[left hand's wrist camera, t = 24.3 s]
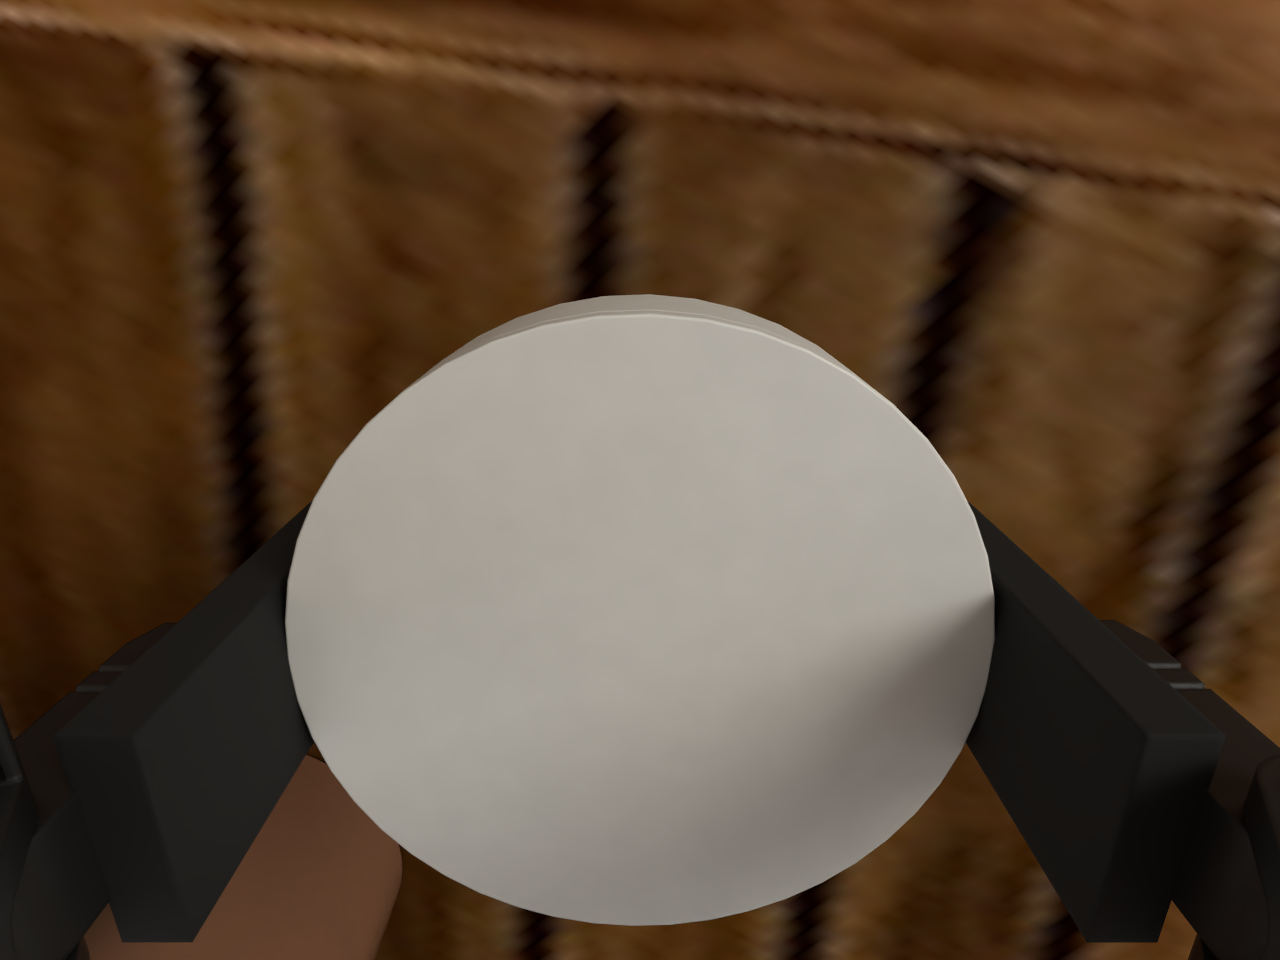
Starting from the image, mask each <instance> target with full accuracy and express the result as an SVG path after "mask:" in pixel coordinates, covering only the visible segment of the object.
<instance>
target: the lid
mask: <svg viewBox="0 0 1280 960" xmlns="http://www.w3.org/2000/svg"><path fill="white" fill-rule="evenodd" d="M285 631H286V643H287V655H288V661H289V666H290V671H291V676H292V681H293V685H294V689H295V693H296V697H297V701H298V704H299V706H300V709H301V711H302V714H303V716H304V719H305V721H306V724H307V726H308V729H309V731H310V734H311V736H312V738H313V740H314V742H315V744H316V745H317V747H318V749H319V751H320V752H321V754H322V756H323V758H324V760H325V761H326V763H327V765H328V767H329V768H330V770H331V772H332V773H333V774H334V776H335V777H336V778H337V780H338V781H339V782H340V784H341V785H342V786H343V788H344V789H345V790H346V792H347V793H348V794H349V795H350V797H351V798H352V799H353V801H354V802H355V803H356V804H357V805H358V806H359V807H360V808H361V809H362V810H363V811H364V812H365V813H366V814H367V815H368V816H369V817H370V819H371V820H372V821H373V822H374V823H375V824H376V825H377V826H378V827H379V828H380V829H381V830H382V831H384V832H385V833H386V834H387V835H388V836H390V837H391V838H392V839H393V840H395V841H396V842H397V843H398V844H400V845H401V846H402V847H403V848H404V849H406V850H407V851H408V852H409V853H411V854H412V855H414V856H415V857H417V858H418V859H420V860H421V861H423V862H424V863H426V864H428V865H429V866H431V867H432V868H434V869H435V870H437V871H438V872H440V873H442V874H443V875H445V876H447V877H449V878H451V879H453V880H455V881H457V882H459V883H461V884H463V885H465V886H467V887H469V888H471V889H473V890H475V891H477V892H479V893H481V894H484V895H487V896H489V897H492V898H495V899H497V900H500V901H503V902H505V903H508V904H511V905H513V906H516V907H520V908H523V909H527V910H531V911H535V912H538V913H542V914H546V915H550V916H553V917H559V918H565V919H571V920H577V921H583V922H589V923H599V924H614V925H629V926H638V925H672V924H680V923H688V922H696V921H704V920H711V919H716V918H720V917H725V916H729V915H733V914H738V913H742V912H747V911H750V910H754V909H757V908H760V907H763V906H766V905H769V904H772V903H775V902H778V901H781V900H784V899H787V898H789V897H791V896H793V895H795V894H798V893H800V892H802V891H804V890H807V889H809V888H811V887H813V886H816V885H818V884H820V883H822V882H824V881H826V880H827V879H829V878H831V877H832V876H834V875H836V874H838V873H839V872H841V871H843V870H844V869H846V868H848V867H850V866H851V865H853V864H855V863H856V862H858V861H859V860H860V859H862V858H863V857H864V856H866V855H867V854H868V853H870V852H871V851H873V850H874V849H875V848H877V847H878V846H879V845H881V844H882V843H883V842H885V841H886V840H887V839H888V838H889V837H891V836H892V835H893V834H894V833H895V832H896V831H897V830H898V829H899V828H900V827H901V826H902V825H903V824H904V823H906V822H907V821H908V820H909V819H910V818H911V817H912V816H913V815H914V814H915V813H916V812H917V811H918V810H919V808H920V807H921V806H922V805H923V804H924V802H925V801H926V800H927V799H928V798H929V796H930V795H931V794H932V793H933V792H934V790H935V789H936V788H937V787H938V786H939V784H940V783H941V782H942V780H943V778H944V777H945V775H946V774H947V772H948V771H949V769H950V768H951V766H952V764H953V763H954V761H955V760H956V758H957V757H958V755H959V754H960V752H961V750H962V748H963V746H964V744H965V742H966V739H967V737H968V735H969V733H970V731H971V729H972V727H973V724H974V722H975V720H976V718H977V716H978V712H979V709H980V706H981V703H982V699H983V696H984V693H985V688H986V683H987V679H988V673H989V668H990V662H991V657H992V651H993V646H994V640H995V602H994V591H993V585H992V579H991V573H990V567H989V561H988V555H987V552H986V549H985V546H984V543H983V540H982V537H981V534H980V531H979V528H978V525H977V522H976V519H975V516H974V514H973V512H972V510H971V508H970V506H969V504H968V502H967V500H966V498H965V496H964V494H963V492H962V490H961V488H960V486H959V484H958V482H957V480H956V478H955V477H954V475H953V474H952V472H951V471H950V469H949V468H948V467H947V465H946V464H945V463H944V461H943V460H942V458H941V457H940V456H939V454H938V453H937V451H936V450H935V449H934V447H933V446H932V445H931V443H930V442H929V440H928V439H927V438H926V437H925V436H924V435H923V434H922V433H921V432H920V431H919V430H918V429H917V428H916V427H915V426H914V425H913V424H912V423H911V422H910V421H909V420H908V419H907V418H906V417H905V416H904V415H903V414H902V413H901V412H900V411H899V410H898V409H897V408H896V407H895V405H894V404H892V403H891V402H890V401H889V400H887V399H886V398H885V397H883V396H882V395H881V394H880V393H878V392H877V391H876V390H875V389H873V388H872V387H871V386H870V385H868V384H867V383H866V382H864V381H863V380H862V379H861V378H859V377H858V376H857V375H856V374H854V373H853V372H852V371H850V370H849V369H848V368H846V367H845V366H844V365H843V364H841V363H840V362H839V361H837V360H836V359H835V358H833V357H832V356H831V355H829V354H828V353H827V352H825V351H824V350H823V349H821V348H820V347H819V346H817V345H815V344H814V343H812V342H810V341H808V340H806V339H805V338H803V337H801V336H799V335H797V334H795V333H794V332H792V331H790V330H788V329H786V328H785V327H783V326H781V325H779V324H776V323H774V322H771V321H769V320H766V319H763V318H761V317H758V316H755V315H753V314H750V313H748V312H745V311H742V310H740V309H737V308H732V307H728V306H724V305H719V304H715V303H711V302H707V301H702V300H698V299H693V298H682V297H671V296H661V295H650V294H647V295H622V296H602V297H597V298H591V299H585V300H580V301H574V302H568V303H563V304H558V305H555V306H552V307H549V308H546V309H542V310H539V311H536V312H533V313H530V314H527V315H524V316H521V317H517V318H515V319H513V320H511V321H509V322H507V323H505V324H503V325H501V326H499V327H497V328H494V329H492V330H490V331H488V332H486V333H484V334H482V335H480V336H478V337H476V338H475V339H473V340H472V341H470V342H469V343H467V344H466V345H464V346H463V347H461V348H460V349H458V350H457V351H455V352H454V353H452V354H451V355H449V356H448V357H446V358H445V359H443V360H442V361H441V362H439V363H438V364H437V365H435V366H434V367H433V368H432V369H430V370H429V371H428V372H427V373H425V374H424V375H423V376H422V377H420V378H419V379H418V380H416V381H415V382H414V383H413V384H411V385H410V386H409V387H408V388H406V389H405V390H404V391H403V392H401V393H400V394H399V395H398V396H397V397H396V398H395V399H394V400H393V401H391V402H390V403H389V404H388V405H387V406H386V407H385V408H384V409H383V410H381V411H380V412H379V413H378V414H377V415H376V416H375V417H374V418H372V419H371V420H370V421H369V422H368V423H367V424H366V425H365V426H364V427H363V429H362V430H361V431H360V432H359V434H358V435H357V436H356V437H355V438H354V440H353V441H352V442H351V443H350V444H349V446H348V447H347V448H346V449H345V450H344V452H343V453H342V454H341V455H340V456H339V458H338V459H337V460H336V462H335V463H334V465H333V467H332V468H331V470H330V472H329V474H328V475H327V477H326V479H325V480H324V482H323V484H322V485H321V487H320V489H319V490H318V492H317V494H316V495H315V497H314V499H313V501H312V504H311V506H310V508H309V511H308V513H307V516H306V518H305V521H304V523H303V526H302V528H301V531H300V533H299V536H298V538H297V542H296V546H295V551H294V555H293V559H292V564H291V568H290V572H289V577H288V583H287V597H286V612H285Z"/></svg>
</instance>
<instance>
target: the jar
mask: <svg viewBox="0 0 1280 960" xmlns="http://www.w3.org/2000/svg"><path fill="white" fill-rule="evenodd" d="M401 879H402V857H401V852H400V848H399V844H398V843H397V842H396V841H395V840H393V839H392V838H391V837H390V836H388V835H387V834H386V833H385V832H384V831H382V830H381V829H380V828H379V827H378V826H377V825H376V824H375V823H374V822H373V821H372V820H371V819H370V817H369V816H368V815H367V814H366V813H365V812H364V811H363V810H362V809H361V808H360V807H359V806H358V805H357V804H356V803H355V802H354V801H353V799H352V798H351V797H350V795H349V794H348V793H347V792H346V790H345V789H344V788H343V786H342V785H341V784H340V782H339V781H338V780H337V778H336V777H335V776H334V774H333V773H332V772H331V770H330V768H329V767H328V765H327V764H326V763H324V762H322V761H320V760H318V759H316V758H314V757H311V756H309V755H306V756H305V757H304V759H303V761H302V762H301V764H300V766H299V767H298V769H297V771H296V772H295V774H294V775H293V777H292V779H291V780H290V782H289V784H288V785H287V787H286V789H285V790H284V792H283V794H282V795H281V797H280V799H279V800H278V802H277V804H276V805H275V807H274V809H273V810H272V812H271V813H270V815H269V817H268V818H267V820H266V822H265V823H264V825H263V827H262V828H261V830H260V832H259V833H258V835H257V837H256V838H255V840H254V842H253V843H252V845H251V847H250V848H249V850H248V851H247V853H246V855H245V856H244V858H243V860H242V861H241V863H240V865H239V866H238V868H237V870H236V871H235V873H234V875H233V876H232V878H231V880H230V881H229V883H228V885H227V886H226V888H225V889H224V891H223V893H222V894H221V896H220V898H219V899H218V901H217V903H216V904H215V906H214V908H213V909H212V911H211V913H210V914H209V916H208V918H207V919H206V921H205V923H204V924H203V926H202V927H201V929H200V931H199V932H198V934H197V936H196V937H195V939H194V941H193V942H122V940H121V937H120V934H119V931H118V928H117V925H116V922H115V919H114V916H113V913H112V910H111V907H110V904H109V903H108V904H107V906H106V907H105V908H104V910H103V911H102V912H101V914H100V915H99V916H98V917H97V919H96V920H95V921H94V923H93V924H92V925H91V927H90V928H89V929H88V931H87V932H86V933H85V935H84V938H85V941H86V944H87V947H88V949H89V954H90V960H375V958H376V955H377V953H378V950H379V947H380V944H381V941H382V938H383V936H384V933H385V930H386V927H387V924H388V922H389V919H390V916H391V913H392V910H393V907H394V905H395V902H396V899H397V896H398V893H399V889H400V886H401Z"/></svg>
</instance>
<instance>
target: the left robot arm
mask: <svg viewBox="0 0 1280 960" xmlns="http://www.w3.org/2000/svg"><path fill="white" fill-rule="evenodd" d="M312 501H313V500H312ZM312 501H311V502H310V503H309V504H308V505H307V506H306V507H305V508H304V509H303V510H301V511H300V512H299V513H298V514H297V515H296V516H295V517H294V518H293V519H292V520H290V521H289V522H288V523H287V524H286V525H285V526H284V527H283V528H282V529H281V530H279V531H278V532H277V533H276V534H275V535H274V536H273V537H272V538H271V539H269V540H268V541H267V542H266V543H265V544H264V545H263V546H262V547H261V548H260V549H258V550H257V551H256V552H255V553H254V554H253V555H252V556H251V557H250V558H249V559H247V560H246V561H245V562H244V563H243V564H242V565H241V566H240V567H239V568H238V569H236V570H235V571H234V572H233V573H232V574H231V575H230V576H229V577H228V578H226V579H225V580H224V581H223V582H222V583H221V584H220V585H219V586H218V587H217V588H215V589H214V590H213V591H212V592H211V593H210V594H209V595H208V596H207V597H206V598H204V599H203V600H202V601H201V602H200V603H199V604H198V605H197V606H196V607H194V608H193V609H192V610H191V611H190V612H189V613H188V614H187V615H186V616H185V617H183V618H182V619H181V620H180V621H179V622H178V623H164V624H162V625H160V626H158V627H156V628H155V629H153V630H151V631H149V632H147V633H145V634H143V635H141V636H139V637H137V638H136V639H134V640H132V641H130V642H128V643H127V644H125V645H124V646H123V647H122V648H121V649H120V650H118V651H117V652H116V653H115V654H114V655H113V656H111V657H110V658H109V659H108V660H107V661H106V662H104V663H103V664H102V665H101V666H100V667H99V671H98V672H93V673H92V674H90V675H89V676H88V677H87V678H86V679H85V680H83V681H82V682H81V683H80V684H79V685H77V686H76V691H75V692H69V693H68V694H67V695H66V696H65V697H63V698H62V699H61V700H60V701H59V702H58V703H56V704H55V705H54V706H53V707H52V708H51V709H49V710H48V711H47V712H46V713H45V714H44V715H42V716H41V717H40V718H39V719H38V720H37V721H35V722H34V723H33V724H32V725H31V726H30V727H28V728H27V729H26V730H25V731H24V732H23V733H21V734H20V735H19V736H18V737H17V738H16V739H14V740H13V738H12V735H11V733H10V730H9V727H8V724H7V722H6V719H5V716H4V713H3V710H2V708H1V705H0V960H90V954H89V949H88V947H87V944H86V941H85V938H84V935H85V933H86V932H87V931H88V929H89V928H90V927H91V925H92V924H93V923H94V921H95V920H96V919H97V917H98V916H99V915H100V914H101V912H102V911H103V910H104V908H105V907H106V906H107V904H108V903H109V904H110V907H111V910H112V913H113V916H114V919H115V922H116V925H117V928H118V931H119V934H120V937H121V940H122V942H193V941H194V939H195V937H196V936H197V934H198V932H199V931H200V929H201V927H202V926H203V924H204V923H205V921H206V919H207V918H208V916H209V914H210V913H211V911H212V909H213V908H214V906H215V904H216V903H217V901H218V899H219V898H220V896H221V894H222V893H223V891H224V889H225V888H226V886H227V885H228V883H229V881H230V880H231V878H232V876H233V875H234V873H235V871H236V870H237V868H238V866H239V865H240V863H241V861H242V860H243V858H244V856H245V855H246V853H247V851H248V850H249V848H250V847H251V845H252V843H253V842H254V840H255V838H256V837H257V835H258V833H259V832H260V830H261V828H262V827H263V825H264V823H265V822H266V820H267V818H268V817H269V815H270V813H271V812H272V810H273V809H274V807H275V805H276V804H277V802H278V800H279V799H280V797H281V795H282V794H283V792H284V790H285V789H286V787H287V785H288V784H289V782H290V780H291V779H292V777H293V775H294V774H295V772H296V771H297V769H298V767H299V766H300V764H301V762H302V761H303V759H304V757H305V756H306V754H307V752H308V751H309V749H310V747H311V746H312V744H313V742H314V740H313V738H312V736H311V734H310V731H309V729H308V726H307V724H306V721H305V719H304V716H303V714H302V711H301V709H300V706H299V704H298V701H297V697H296V693H295V689H294V685H293V681H292V676H291V671H290V666H289V661H288V655H287V643H286V631H285V612H286V597H287V583H288V577H289V572H290V568H291V564H292V559H293V555H294V551H295V546H296V542H297V538H298V536H299V533H300V531H301V528H302V526H303V523H304V521H305V518H306V516H307V513H308V511H309V508H310V506H311V504H312ZM967 502H968V501H967ZM968 504H969V506H970V508H971V510H972V512H973V514H974V516H975V519H976V522H977V525H978V528H979V531H980V534H981V537H982V540H983V543H984V546H985V549H986V552H987V555H988V561H989V567H990V573H991V579H992V585H993V591H994V602H995V640H994V646H993V651H992V657H991V662H990V668H989V673H988V679H987V683H986V688H985V693H984V696H983V699H982V703H981V706H980V709H979V712H978V716H977V718H976V720H975V722H974V724H973V727H972V729H971V731H970V733H969V735H968V737H967V739H966V743H967V745H968V747H969V748H970V750H971V752H972V753H973V755H974V756H975V758H976V760H977V761H978V763H979V765H980V766H981V768H982V770H983V771H984V773H985V775H986V776H987V778H988V780H989V781H990V783H991V785H992V786H993V788H994V790H995V791H996V793H997V794H998V796H999V798H1000V799H1001V801H1002V803H1003V804H1004V806H1005V808H1006V809H1007V811H1008V813H1009V814H1010V816H1011V818H1012V819H1013V821H1014V823H1015V824H1016V826H1017V828H1018V829H1019V831H1020V832H1021V834H1022V836H1023V837H1024V839H1025V841H1026V842H1027V844H1028V846H1029V847H1030V849H1031V851H1032V852H1033V854H1034V856H1035V857H1036V859H1037V861H1038V862H1039V864H1040V866H1041V867H1042V869H1043V870H1044V872H1045V874H1046V875H1047V877H1048V879H1049V880H1050V882H1051V884H1052V885H1053V887H1054V889H1055V890H1056V892H1057V894H1058V895H1059V897H1060V899H1061V900H1062V902H1063V904H1064V905H1065V907H1066V908H1067V910H1068V912H1069V913H1070V915H1071V917H1072V918H1073V920H1074V922H1075V923H1076V925H1077V927H1078V928H1079V930H1080V932H1081V933H1082V935H1083V937H1084V938H1085V940H1086V942H1157V941H1158V938H1159V935H1160V932H1161V929H1162V926H1163V923H1164V920H1165V917H1166V914H1167V911H1168V909H1169V906H1170V903H1171V900H1172V901H1173V902H1174V903H1175V905H1176V906H1177V907H1178V909H1179V910H1180V911H1181V913H1182V914H1183V915H1184V917H1185V918H1186V919H1187V921H1188V922H1189V923H1190V924H1191V926H1192V927H1193V928H1194V930H1195V931H1196V932H1197V936H1196V938H1195V941H1194V944H1193V947H1192V949H1191V952H1190V955H1189V958H1188V960H1280V748H1279V747H1278V746H1277V745H1276V744H1274V743H1273V742H1272V741H1271V740H1270V739H1268V738H1267V737H1266V736H1265V735H1264V734H1263V733H1261V732H1260V731H1259V730H1258V729H1257V728H1256V727H1254V726H1253V725H1252V724H1251V723H1250V722H1249V721H1247V720H1246V719H1245V718H1244V717H1243V716H1241V715H1240V714H1239V713H1238V712H1237V711H1236V710H1234V709H1233V708H1232V707H1231V706H1230V705H1229V704H1227V703H1226V702H1225V701H1224V700H1223V699H1221V698H1220V697H1219V696H1218V695H1217V694H1216V693H1214V692H1213V691H1212V690H1211V689H1205V687H1204V683H1203V682H1201V681H1200V680H1199V679H1198V678H1197V677H1196V676H1194V675H1193V674H1192V673H1191V672H1190V671H1189V670H1187V669H1182V668H1181V664H1180V663H1179V662H1178V661H1177V660H1176V659H1174V658H1173V657H1172V656H1171V655H1170V654H1169V653H1167V652H1166V651H1165V650H1164V649H1163V648H1161V647H1160V646H1159V645H1158V644H1157V643H1156V642H1154V641H1153V640H1152V639H1150V638H1148V637H1146V636H1144V635H1142V634H1140V633H1138V632H1136V631H1134V630H1133V629H1131V628H1129V627H1127V626H1125V625H1123V624H1121V623H1119V622H1117V621H1115V620H1098V619H1097V618H1096V617H1095V616H1094V615H1093V614H1092V613H1090V612H1089V611H1088V610H1087V609H1086V608H1085V607H1084V606H1083V605H1082V604H1081V603H1079V602H1078V601H1077V600H1076V599H1075V598H1074V597H1073V596H1072V595H1071V594H1070V593H1068V592H1067V591H1066V590H1065V589H1064V588H1063V587H1062V586H1061V585H1060V584H1058V583H1057V582H1056V581H1055V580H1054V579H1053V578H1052V577H1051V576H1050V575H1049V574H1047V573H1046V572H1045V571H1044V570H1043V569H1042V568H1041V567H1040V566H1039V565H1038V564H1036V563H1035V562H1034V561H1033V560H1032V559H1031V558H1030V557H1029V556H1028V555H1027V554H1025V553H1024V552H1023V551H1022V550H1021V549H1020V548H1019V547H1018V546H1017V545H1015V544H1014V543H1013V542H1012V541H1011V540H1010V539H1009V538H1008V537H1007V536H1006V535H1004V534H1003V533H1002V532H1001V531H1000V530H999V529H998V528H997V527H996V526H995V525H993V524H992V523H991V522H990V521H989V520H988V519H987V518H986V517H985V516H984V515H982V514H981V513H980V512H979V511H978V510H977V509H976V508H975V507H974V506H972V505H971V504H970V503H969V502H968Z"/></svg>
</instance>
